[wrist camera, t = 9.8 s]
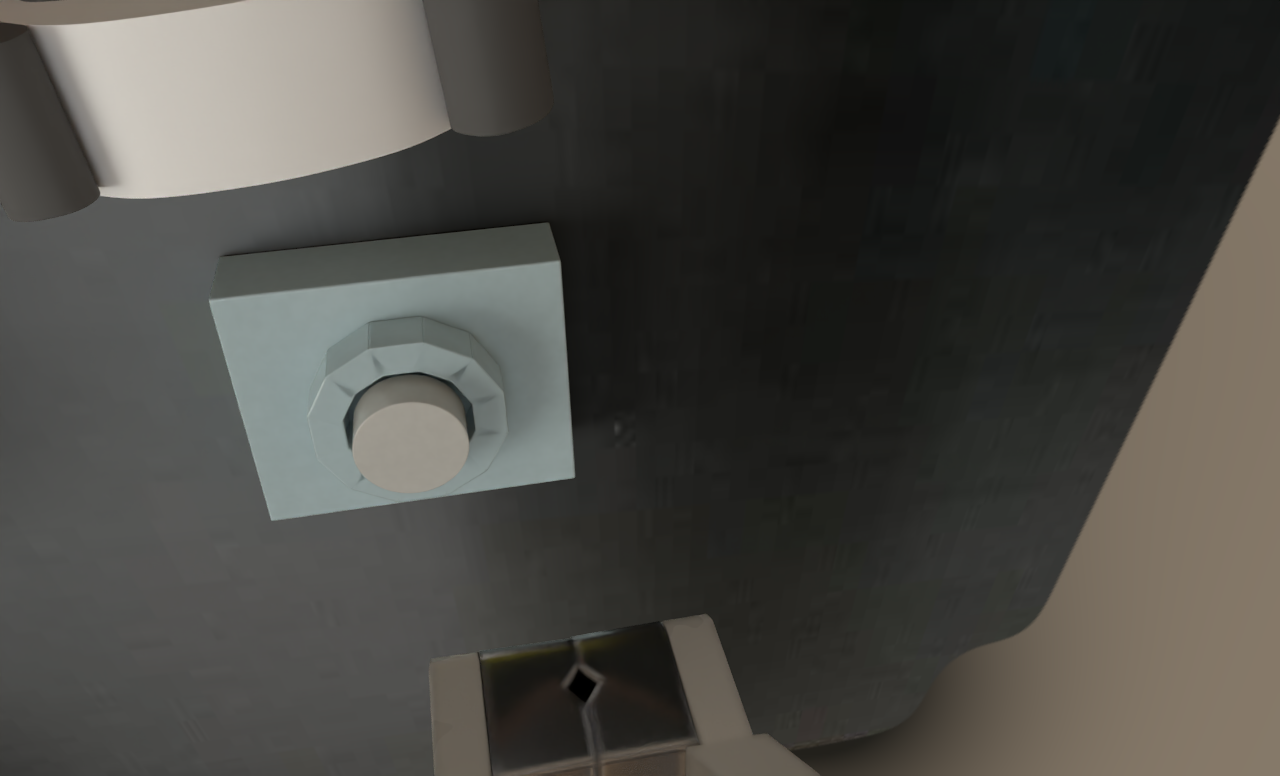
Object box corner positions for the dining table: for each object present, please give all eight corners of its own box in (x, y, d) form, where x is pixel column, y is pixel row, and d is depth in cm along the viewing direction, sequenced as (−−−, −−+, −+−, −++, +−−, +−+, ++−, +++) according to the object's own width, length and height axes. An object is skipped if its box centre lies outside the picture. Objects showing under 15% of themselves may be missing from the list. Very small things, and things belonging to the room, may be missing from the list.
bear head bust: (449, -311, 30) (500, -277, 18) (519, 78, 37) (590, 290, 25) (12, -249, 29) (-240, -170, 17) (165, 141, 36) (60, 397, 24)
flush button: (459, 367, 38) (462, 395, 37) (471, 455, 40) (475, 485, 39) (343, 381, 37) (342, 410, 36) (362, 470, 40) (362, 501, 38)
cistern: (549, 221, 41) (568, 285, 37) (564, 431, 46) (582, 507, 42) (218, 256, 39) (200, 327, 35) (277, 471, 44) (267, 553, 40)
